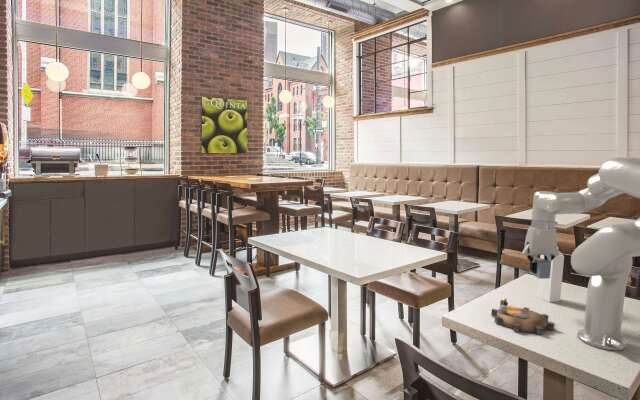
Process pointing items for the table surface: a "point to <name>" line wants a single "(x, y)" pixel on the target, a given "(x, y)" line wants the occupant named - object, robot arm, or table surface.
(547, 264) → the link block
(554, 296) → the milk
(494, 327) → the table surface
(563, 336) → the table surface
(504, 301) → the block with gold knob
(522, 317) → the sprocket
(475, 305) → the table surface
